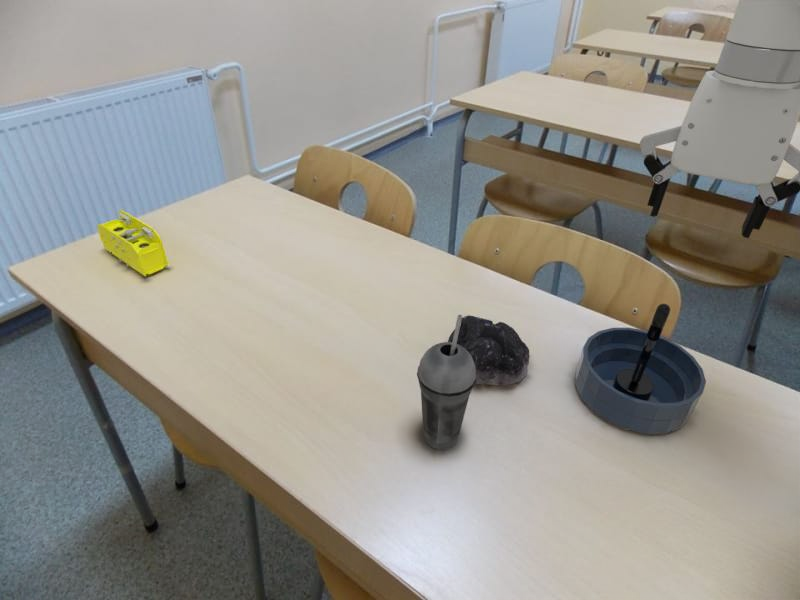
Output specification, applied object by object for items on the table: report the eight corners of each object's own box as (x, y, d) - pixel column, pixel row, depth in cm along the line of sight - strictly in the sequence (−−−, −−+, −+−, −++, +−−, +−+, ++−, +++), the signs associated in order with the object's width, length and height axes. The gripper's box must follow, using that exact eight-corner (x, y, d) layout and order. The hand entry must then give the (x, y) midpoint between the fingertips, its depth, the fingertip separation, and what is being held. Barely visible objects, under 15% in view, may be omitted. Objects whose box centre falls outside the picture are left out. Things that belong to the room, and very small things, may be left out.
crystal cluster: (482, 327, 90) (481, 279, 84) (550, 360, 82) (555, 310, 76) (430, 368, 83) (425, 319, 77) (499, 409, 74) (499, 358, 69)
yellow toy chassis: (172, 268, 102) (161, 231, 97) (144, 280, 99) (132, 242, 94) (131, 242, 110) (119, 206, 105) (104, 252, 107) (91, 215, 102)
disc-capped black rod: (658, 398, 75) (696, 312, 66) (629, 406, 74) (664, 320, 65) (633, 374, 79) (666, 290, 70) (605, 382, 78) (635, 297, 69)
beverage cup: (402, 431, 70) (406, 314, 59) (443, 407, 74) (454, 293, 62) (437, 468, 66) (449, 349, 54) (479, 440, 69) (498, 324, 57)
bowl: (716, 419, 73) (732, 388, 70) (622, 450, 68) (635, 419, 65) (636, 347, 85) (647, 318, 82) (553, 369, 81) (561, 340, 77)
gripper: (864, 68, 50) (783, 227, 60) (670, 48, 56) (627, 194, 66) (876, 84, 44) (785, 256, 54) (661, 60, 51) (615, 216, 61)
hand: (698, 222), depth 60 cm, fingers open, 9 cm apart
